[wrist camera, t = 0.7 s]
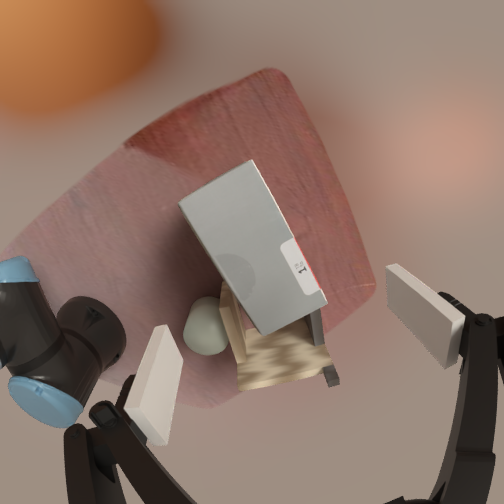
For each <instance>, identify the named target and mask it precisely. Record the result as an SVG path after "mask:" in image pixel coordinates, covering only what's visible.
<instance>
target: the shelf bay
mask: <svg viewBox="0 0 504 504" xmlns="http://www.w3.org/2000/svg"><path fill="white" fill-rule="evenodd" d="M219 310H220V314H221V317H222V320H223V323H224V326H225V329H226V332H227V335H228V338H229V341H230V344H231V347H232V350H233V353H234V356H235V359H236V361H237V386H238V389H239V391H245V390H251V389H256V388H261V387H266V386H271V385H276V384H281V383H285V382H290V381H294V380H299V379H302V378H307V377H311V376H315V375H318V374H322V373H324V375H325V378H326V381H327V383H328V387H332V386H335V385H339V384H340V383H339V377H338V374H337V372H336V369H335V367H334V365H333V362H332V360H331V358H330V355H329V353H328V351H327V348H326V346H325V343H324V334H323V326H322V319H321V311H320V308H319V309H317V310H315V311H313V312H311V313H309V314H307V315H305V316H304V317H302V318H300V319H298V320H296V321H294V322H292V323H290V324H288V325H286V326H284V327H282V328H280V329H278V330H276V331H274V332H272V333H270V334H268V335H266V336H262V335H261V334H259V332H258V331H257V329H256V328H252V329H248V330H245V327H244V323H243V320H242V316H241V313H240V309H239V306H238V302H237V300H236V298H235V297H234V295H233V293H232V292H231V290H230V289H229V287H228V286H227V284H226V282H225V281H223V282H222V287H221V295H220V303H219Z"/></svg>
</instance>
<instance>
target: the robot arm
mask: <svg viewBox="0 0 504 504" xmlns="http://www.w3.org/2000/svg"><path fill="white" fill-rule="evenodd" d="M385 268H386V284H387V306H388V307H389V308H390V309H391V310H392V311H393V313H394V314H395V315H396V316H397V317H398V318H399V319H400V320H401V321H402V322H403V323H404V324H405V325H406V326H407V328H408V329H409V330H410V331H411V332H412V333H413V334H414V335H415V336H416V337H417V339H418V340H419V341H420V342H421V343H422V344H423V345H424V346H425V347H426V349H427V350H428V351H429V352H430V353H431V354H432V355H433V357H434V358H435V359H436V360H437V361H438V362H439V363H440V365H442V367H443V368H444V369H446V368H448V367H450V366H452V365H454V364H456V363H457V359H458V355H459V354H460V355H461V356H462V357H463V361H462V365H461V369H460V373H459V374H461V376H460V384H459V391H458V398H457V403H456V409H455V414H454V419H453V424H452V429H451V433H450V437H449V441H448V445H447V449H446V453H445V456H444V460H443V463H442V467H441V470H440V473H439V476H438V479H437V482H436V484H435V487H434V489H433V491H432V493H431V495H430V498H429V500H426V499H414V500H406V501H405V500H404V498H403V496H401V497H399V498H397V499H395V500H392V501H390V502H387V503H385V504H486V501H487V498H488V494H489V490H490V485H491V481H492V476H493V471H494V466H495V458H496V457H495V454H494V453H493V452H492V449H493V441H494V433H495V424H496V412H497V395H498V367H499V370H500V374H501V377H502V380H503V384H504V316H503V317H499V318H495V319H494V318H493V317H492V316H490V315H488V314H483V313H481V314H475V313H473V312H472V311H471V310H470V309H468V308H467V307H466V306H464V305H463V304H462V303H460V302H459V301H458V300H456V299H455V298H454V297H452V296H451V295H450V294H447V293H444V292H439V293H436V292H434V291H433V290H432V289H430V288H429V287H428V286H427V285H425V284H424V283H423V282H421V281H420V280H419V279H417V278H416V277H415V276H413V275H412V274H410V273H409V272H408V271H406V270H405V269H403V268H402V267H401V266H399V265H398V264H396V263H395V264H392V265H389V266H386V267H385ZM39 282H40V280H39V279H38V278H37V277H36V275H35V272H34V270H33V268H32V266H31V263H30V261H29V260H28V259H27V258H26V257H23V256H16V257H13V258H11V259H8V260H5V261H2V262H0V369H2V368H3V367H4V366H5V365H6V367H7V368H8V370H9V371H10V373H11V375H12V377H11V378H10V379H9V383H8V389H9V392H10V395H11V396H12V398H13V399H14V401H15V402H16V403H17V404H18V405H19V406H20V407H21V408H22V409H23V410H24V411H25V412H27V413H28V414H29V415H31V416H32V417H33V418H35V419H37V420H39V421H40V422H42V423H44V424H47V425H49V426H53V427H56V428H68V427H69V428H68V429H67V430H66V431H65V433H64V460H65V475H66V485H67V494H68V501H69V504H126V501H125V497H124V494H123V490H122V487H121V483H120V480H119V476H118V473H117V468H116V464H119V466H120V467H121V469H122V471H123V472H124V474H125V475H126V477H127V478H128V480H129V482H130V483H131V485H132V486H133V487H134V489H135V490H136V492H137V493H138V495H139V496H140V497H141V499H142V500H143V502H144V503H145V504H197V503H196V502H195V501H194V500H193V499H192V498H191V497H190V496H189V495H188V494H187V493H186V492H185V490H184V489H183V488H182V487H181V486H180V485H179V484H178V483H177V482H176V481H175V480H174V478H173V477H172V476H171V475H170V474H169V473H168V472H167V470H166V469H165V468H164V467H163V466H162V465H161V463H160V462H159V461H158V460H157V458H156V457H155V456H154V455H153V454H152V452H151V451H150V450H149V448H147V446H146V441H147V439H148V440H149V441H150V443H151V444H152V445H154V446H156V445H168V439H169V433H170V428H171V422H172V416H173V411H174V405H175V400H176V395H177V390H178V385H179V380H180V375H181V370H182V365H183V358H182V356H181V354H180V352H179V350H178V348H177V346H176V344H175V341H174V339H173V337H172V335H171V333H170V330H169V328H168V326H167V324H166V325H161V326H156V327H155V328H154V331H153V333H152V336H151V338H150V341H149V343H148V345H147V348H146V351H145V353H144V356H143V358H142V361H141V363H140V366H139V368H138V371H137V374H135V375H130V376H129V377H128V378H127V380H126V381H125V382H124V384H123V387H122V390H121V392H120V396H119V397H118V399H117V402H116V404H115V406H114V405H113V403H111V402H110V401H106V400H105V401H101V402H98V403H96V404H95V405H94V406H93V407H92V408H91V409H90V411H89V418H90V419H91V420H92V421H93V423H94V424H95V425H96V426H97V427H95V428H91V429H86V428H85V427H84V426H83V425H82V424H79V423H77V424H74V423H75V422H76V420H77V418H78V417H79V415H80V414H81V413H82V412H83V409H84V407H85V405H86V402H87V400H88V398H89V396H90V394H91V392H92V390H93V388H94V386H95V384H96V382H97V380H98V378H99V376H100V375H101V373H102V372H103V371H105V370H106V369H108V368H109V367H110V366H112V365H113V364H115V363H116V362H117V361H118V360H119V358H120V357H121V355H122V353H123V351H124V349H125V346H126V335H125V331H124V328H123V326H122V324H121V322H120V320H119V319H118V318H117V316H116V315H115V314H114V313H113V312H112V311H111V310H110V309H109V308H108V307H107V306H106V305H104V304H103V303H101V302H99V301H98V300H95V299H93V298H90V297H84V296H78V297H74V298H71V299H70V300H68V301H67V302H66V303H65V304H64V305H63V306H62V307H61V308H60V310H59V312H58V314H57V318H55V316H54V314H53V312H52V310H51V308H50V305H49V303H48V301H47V299H46V297H45V295H44V292H43V290H42V288H41V285H40V283H39Z"/></svg>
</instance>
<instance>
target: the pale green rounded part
mask: <svg viewBox="0 0 504 504" xmlns="http://www.w3.org/2000/svg"><path fill="white" fill-rule="evenodd" d="M219 303H220V299H218V298H216V297H210V296H209V297H202V298H199V299H198V300H196V301H195V302H194V303H193V305H192V306H191V309H190V312H189V315H188V318H187V322H186V325H185V328H184V331H183V338H184V341H185V343H186V345H187V346H188V347H189V348H190V349H191V350H193V351H194V352H196V353H198V354H202V355H214V354H218V353H220V352H221V351H223V350H224V349H225V348H226V346H227V345H228V342H229V338H228V335H227V332H226V329H225V326H224V323H223V320H222V317H221V314H220V310H219Z"/></svg>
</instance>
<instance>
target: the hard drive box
mask: <svg viewBox="0 0 504 504" xmlns="http://www.w3.org/2000/svg"><path fill="white" fill-rule="evenodd" d="M178 206H179V208H180V210H181V212H182V213H183V215H184V217H185V219H186V220H187V222H188V223H189V225H190V227H191V228H192V230H193V232H194V233H195V235H196V237H197V238H198V240H199V241H200V243H201V245H202V246H203V248H204V249H205V251H206V253H207V254H208V256H209V257H210V259H211V260H212V262H213V264H214V265H215V267H216V268H217V270H218V271H219V273H220V275H221V276H222V278H223V279H224V281H225V282H226V284H227V286H228V287H229V289H230V290H231V292H232V293H233V295H234V297H235V298H236V300H237V301H238V303H239V304H240V306H241V307H242V309H243V310H244V312H245V314H246V315H247V317H248V318H249V319H250V321H251V322H252V324H253V325H254V327H255V328H256V329H257V331H258V332H259V334H261V335H262V336H266V335H268V334H270V333H272V332H274V331H276V330H278V329H280V328H282V327H284V326H286V325H288V324H290V323H292V322H294V321H296V320H298V319H300V318H302V317H304V316H305V315H307V314H309V313H311V312H313V311H315V310H317V309H319V308H321V307H322V306H324V305H326V304H327V303H328V302H327V300H326V298H325V295H324V293H323V291H322V289H321V287H320V285H319V283H318V281H317V279H316V277H315V275H314V274H313V272H312V270H311V267H310V265H309V264H308V262H307V260H306V258H305V256H304V254H303V252H302V250H301V249H300V247H299V245H298V243H297V241H296V239H295V238H294V236H293V234H292V232H291V230H290V228H289V226H288V224H287V222H286V220H285V218H284V217H283V215H282V213H281V211H280V209H279V207H278V205H277V203H276V201H275V199H274V198H273V196H272V194H271V192H270V190H269V189H268V187H267V185H266V183H265V181H264V179H263V178H262V176H261V174H260V172H259V171H258V169H257V167H256V165H255V163H254V162H253V160H250V161H247V162H244V163H242V164H240V165H238V166H236V167H234V168H232V169H231V170H229V171H227V172H225V173H223V174H222V175H220V176H218V177H216V178H215V179H213V180H211V181H210V182H208V183H206V184H205V185H203V186H202V187H200V188H199V189H197V190H195V191H194V192H192V193H191V194H189V195H188V196H186V197H185V198H183V199H182V200H180V201H179V202H178Z"/></svg>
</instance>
